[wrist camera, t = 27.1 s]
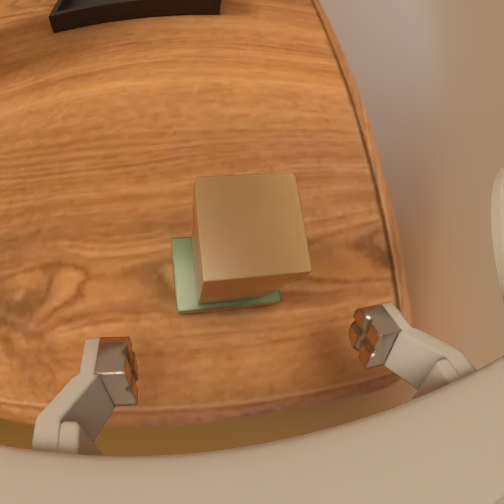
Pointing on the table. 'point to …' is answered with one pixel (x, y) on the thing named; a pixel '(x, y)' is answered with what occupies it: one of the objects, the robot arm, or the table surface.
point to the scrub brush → (240, 243)
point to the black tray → (122, 10)
